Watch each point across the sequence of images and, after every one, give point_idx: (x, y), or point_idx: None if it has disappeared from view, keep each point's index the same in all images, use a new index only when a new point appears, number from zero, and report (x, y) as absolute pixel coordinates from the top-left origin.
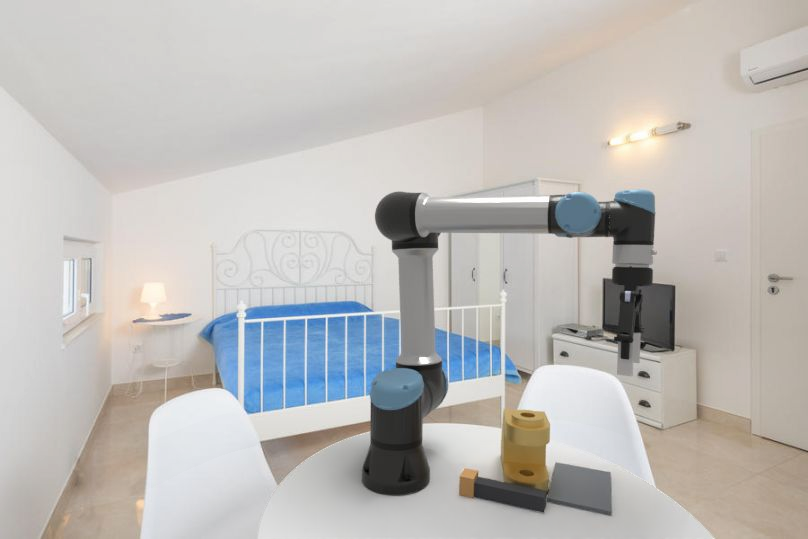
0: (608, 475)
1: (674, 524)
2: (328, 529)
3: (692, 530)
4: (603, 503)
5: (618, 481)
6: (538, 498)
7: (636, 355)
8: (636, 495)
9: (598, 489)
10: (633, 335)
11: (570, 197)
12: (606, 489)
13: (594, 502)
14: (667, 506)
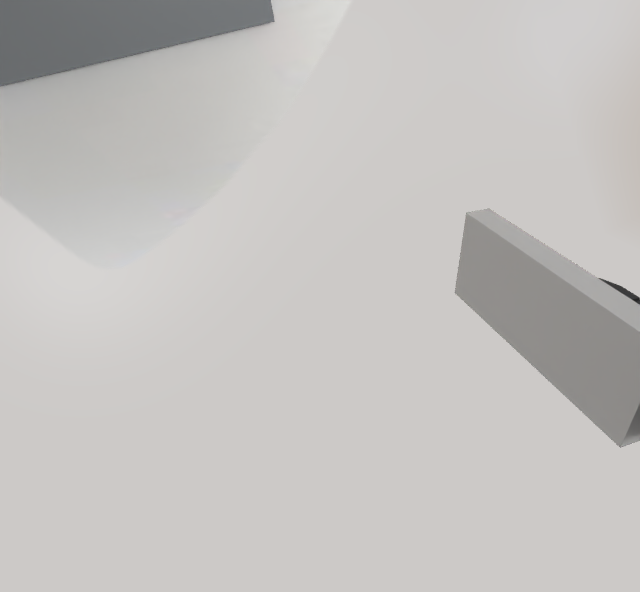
0: (244, 20)
1: (96, 230)
2: None
3: (100, 265)
4: (23, 52)
5: (246, 53)
6: None
7: (488, 305)
8: (188, 120)
9: (111, 13)
10: (619, 384)
11: None
12: (134, 38)
13: (2, 23)
14: (182, 199)
